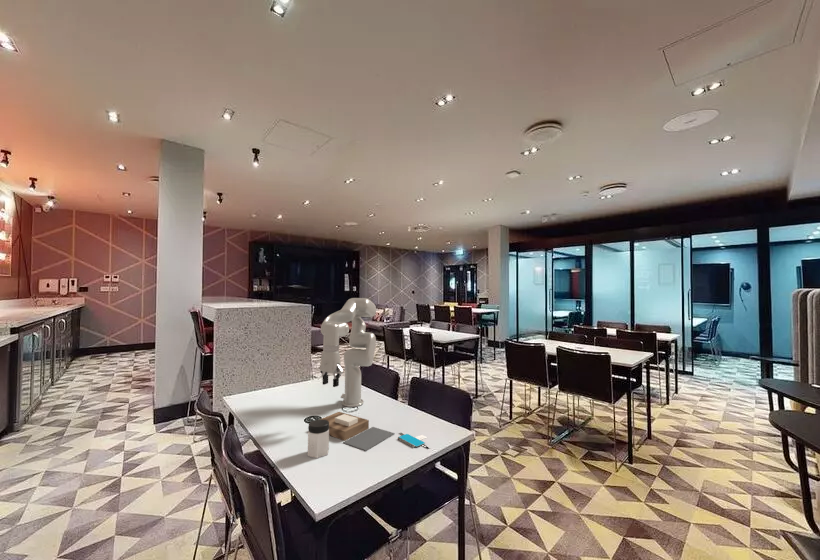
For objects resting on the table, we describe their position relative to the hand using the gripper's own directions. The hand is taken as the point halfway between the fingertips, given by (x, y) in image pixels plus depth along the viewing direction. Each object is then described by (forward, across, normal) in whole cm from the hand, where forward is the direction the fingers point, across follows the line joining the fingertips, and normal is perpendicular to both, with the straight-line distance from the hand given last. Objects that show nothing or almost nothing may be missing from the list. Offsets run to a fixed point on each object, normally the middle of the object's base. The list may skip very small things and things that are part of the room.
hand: (330, 384), depth 163 cm
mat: (+20, +26, 0) cm, 32 cm away
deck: (+20, +8, 0) cm, 21 cm away
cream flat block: (+16, +11, 0) cm, 19 cm away
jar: (+20, +17, -22) cm, 34 cm away
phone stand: (+20, +43, +10) cm, 49 cm away
